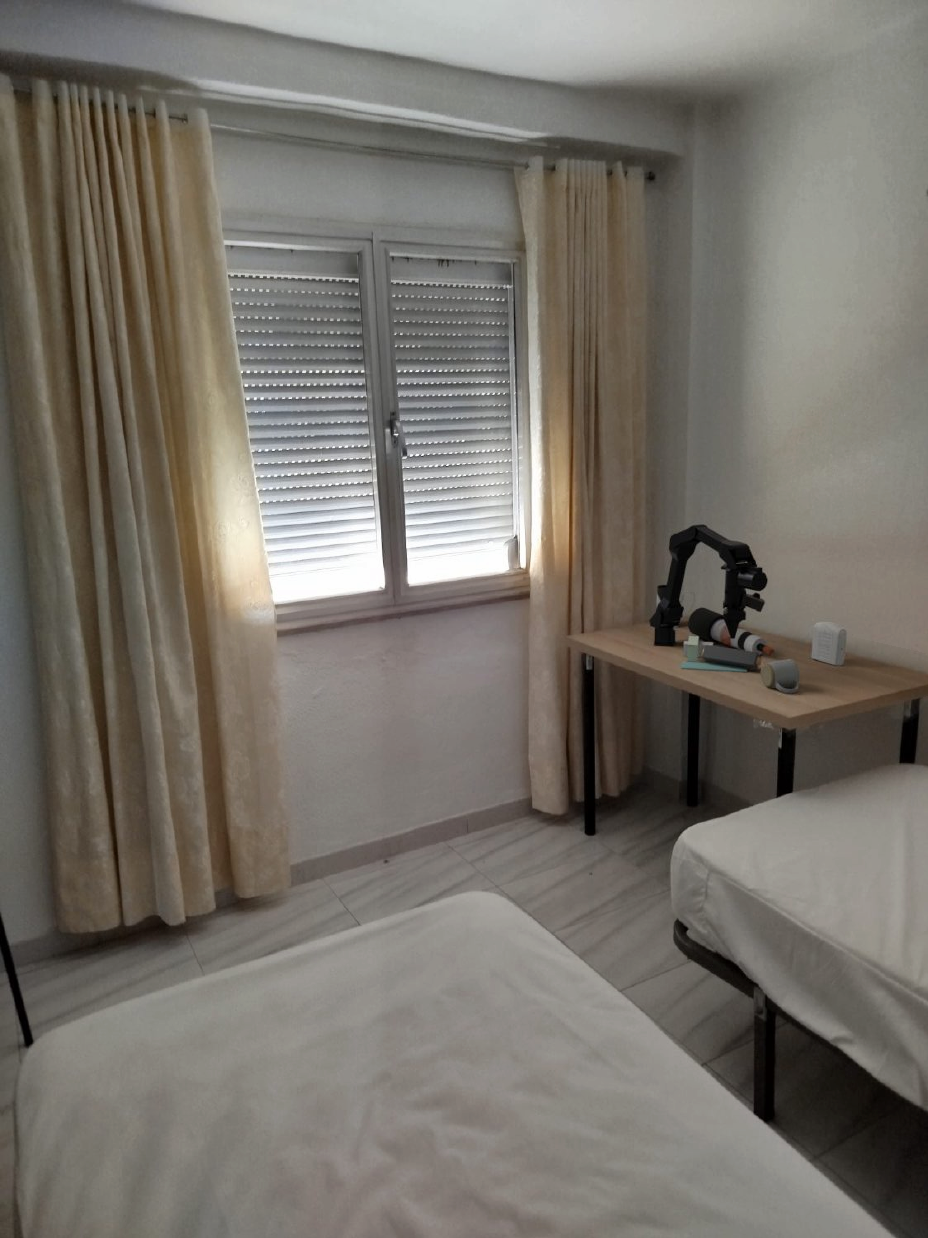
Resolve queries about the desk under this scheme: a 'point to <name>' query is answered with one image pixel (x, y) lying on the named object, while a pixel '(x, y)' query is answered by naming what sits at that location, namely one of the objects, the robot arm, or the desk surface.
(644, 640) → the desk surface
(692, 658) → the light grey piece
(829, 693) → the desk surface
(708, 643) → the block
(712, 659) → the dark gray bar
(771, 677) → the ceramic mug
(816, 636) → the photo printer
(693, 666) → the mat
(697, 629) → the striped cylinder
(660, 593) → the glass holder
